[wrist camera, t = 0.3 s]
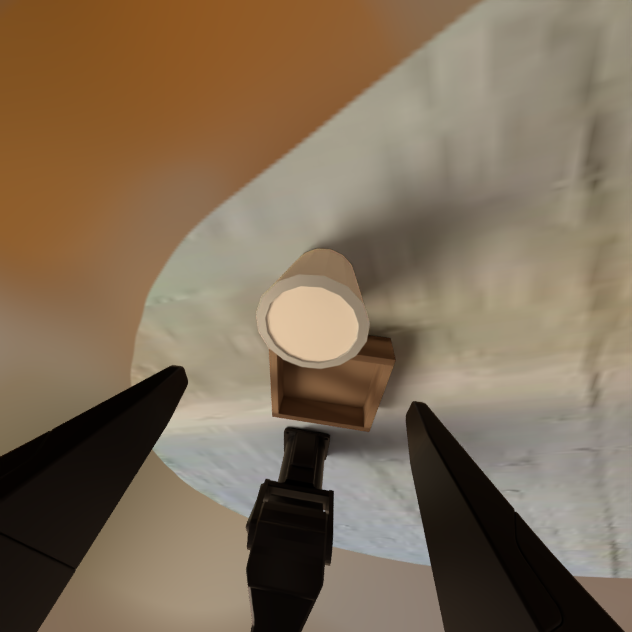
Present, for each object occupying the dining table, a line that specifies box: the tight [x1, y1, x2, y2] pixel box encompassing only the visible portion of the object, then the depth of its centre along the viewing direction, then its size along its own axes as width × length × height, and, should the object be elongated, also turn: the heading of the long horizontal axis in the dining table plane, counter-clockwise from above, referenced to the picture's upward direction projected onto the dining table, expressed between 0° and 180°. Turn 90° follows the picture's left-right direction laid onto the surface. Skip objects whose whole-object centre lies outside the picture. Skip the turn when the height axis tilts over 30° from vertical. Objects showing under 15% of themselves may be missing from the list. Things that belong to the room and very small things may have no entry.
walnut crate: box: [269, 335, 396, 432], centre depth 24 cm, size 11×11×3 cm
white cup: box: [256, 249, 370, 369], centre depth 16 cm, size 7×7×7 cm
